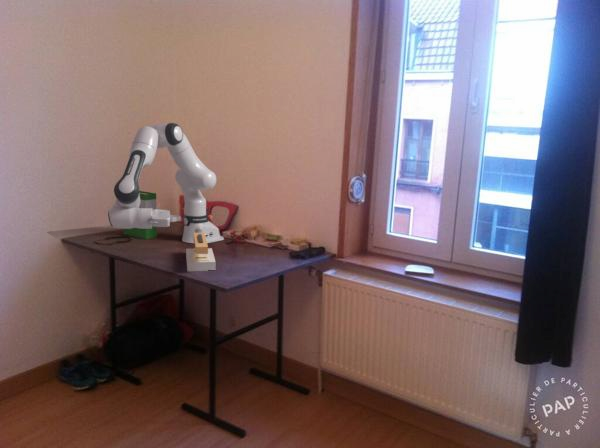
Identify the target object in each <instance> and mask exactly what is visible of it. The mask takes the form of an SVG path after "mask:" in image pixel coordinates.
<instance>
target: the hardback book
mask: <svg viewBox="0 0 600 448" xmlns="http://www.w3.org/2000/svg"><path fill="white" fill-rule="evenodd" d="M139 194H140V206H139V208H153V210H154V209H157V193H156V192H151V191H149V192H148V191H142V190H139ZM157 228H158V227H154V226H152V229H139V228H131V229H123V235H126V236H130V237H135V238H139V239H143V240H150V239H154V238H157V237H158V230H157Z"/></svg>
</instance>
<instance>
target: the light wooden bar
mask: <svg viewBox="0 0 600 448" xmlns="http://www.w3.org/2000/svg"><path fill="white" fill-rule="evenodd" d="M193 244H194V249H195V251H196V254H208V248H209V245H208V243H207V241H206V237H205V233H202V229H195V233H194V243H193Z"/></svg>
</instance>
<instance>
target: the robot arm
mask: <svg viewBox="0 0 600 448" xmlns="http://www.w3.org/2000/svg"><path fill="white" fill-rule="evenodd" d="M163 148H167V150H168V152H169V153H170V156H171V158H172V159H173V161H174V163H175V165H176V166H177V167H178V169H177V170H176V172H175V176H174V177H175V181H176V184H178V186H179V187H180V189H181V191H182V195H183V201H184V215H183V216H184V217H183V225H184V228H183V234H182V237H181V241H182V242H184V243H186V244H187V243H188V244H194V233H195V229H202V233H205V237H206V241H207V244H211V243H215V242H220V241H224V240H225V238H224V236H222V235H220V228H218V226H216V225H215V224H214V223H212V222H211V221H210V220H212V219H213V215H210V214H209V215H208V214H207V200H206V198H205V197H204V196H203V194H202V192H201V191H209V190H213V188H215V186H216V185H217V180H218V179H217V175H216V173H215V172H214V171H212V170H211V169H209V168H208V167H207V166H206V165H205V164H204V163H203V161H201V160H200V159H199V157H198V155H197V154H196V152H195V151H194V148H193V147H192V144H191V143H190V141H189V139H188V137H187V136H186V135H185V133H184V131H183V129H182V127H181V126H180V125H179V124H178V123H174V122H169V123H160V124H154V125H151V126H148V125H146V126H145V125H144V126H140V128H139V129H138V130H137V132H136V134H135V136H134V137H133V141H132V142H131V145H130V149H129V154H128V162H127V163H126V167H125V169H124V172H123V175H122V177H120V179H119V180H118V181H117V182H116V183H115V185H114V188H113V192H114V193H113V194H114V197H115V198H116V200H115V201H114V204H113V205H112V206H111V208H110V209H108V211H107V216H108V221H109V225H110V226H111V227H112V228H115V229H123V230H124V229H131V228H139V229H152V226H154V227H157V228H168V227H170V225H171V224H170V223H174V222H180V221H182V216H181V215H174V214H171V211H170V210H168V209H157V208H156V209H154V210H153V208H139V206H140V194H139V191H140V185H139V179H140V176H141V173H142V171H143V168H148V167H149V166H151V165H152V163H153V162H154V160H155V157H156V153H157V149H163Z"/></svg>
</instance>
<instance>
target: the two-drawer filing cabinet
mask: <svg viewBox="0 0 600 448" xmlns="http://www.w3.org/2000/svg"><path fill="white" fill-rule="evenodd" d="M185 253H186V254H185V257H186V258H185V259H186V270H187V272H209V271H208V270H217V269H216V268H217V267H216V266H217V265H216V258H215V255H214V252H213V248H212V247H210V248H209V247H208V254H196V251H195V248H186V249H185Z"/></svg>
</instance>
